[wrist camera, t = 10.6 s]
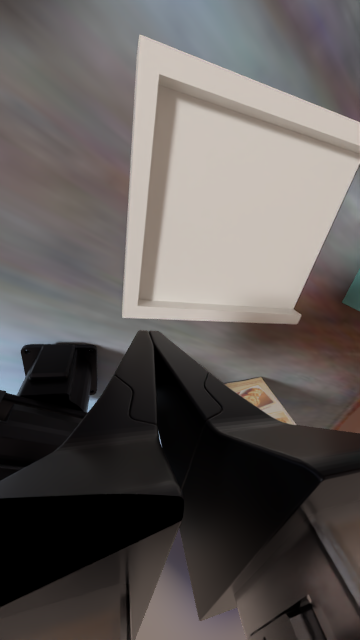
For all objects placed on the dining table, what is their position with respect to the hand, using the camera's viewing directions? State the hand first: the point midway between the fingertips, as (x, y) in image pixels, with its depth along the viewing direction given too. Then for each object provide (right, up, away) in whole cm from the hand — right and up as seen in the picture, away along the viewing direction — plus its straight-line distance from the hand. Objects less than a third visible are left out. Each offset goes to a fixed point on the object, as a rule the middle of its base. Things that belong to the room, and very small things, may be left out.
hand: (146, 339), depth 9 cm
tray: (+6, +9, +11) cm, 15 cm away
